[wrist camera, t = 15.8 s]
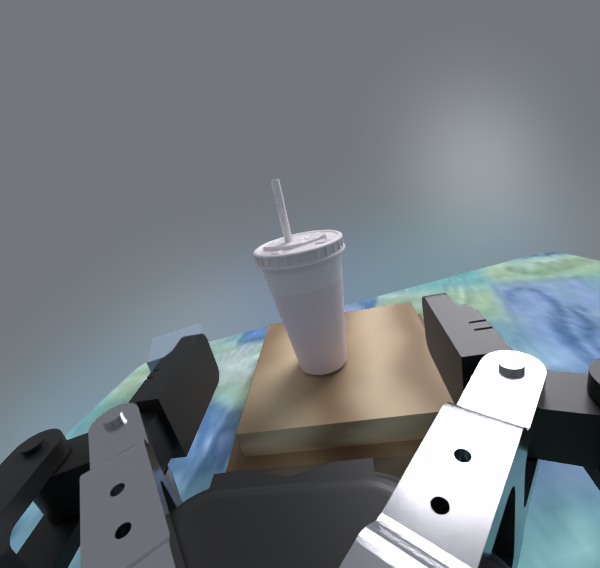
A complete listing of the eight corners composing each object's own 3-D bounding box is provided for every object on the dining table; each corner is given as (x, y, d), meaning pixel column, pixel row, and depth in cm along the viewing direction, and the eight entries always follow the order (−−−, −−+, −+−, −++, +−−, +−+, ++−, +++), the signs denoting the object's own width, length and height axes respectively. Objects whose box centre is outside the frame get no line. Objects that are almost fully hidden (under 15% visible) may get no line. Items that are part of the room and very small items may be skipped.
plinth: (421, 331, 35) (418, 296, 33) (492, 471, 20) (492, 419, 19) (270, 353, 37) (261, 321, 36) (234, 493, 22) (216, 449, 21)
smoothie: (282, 349, 30) (240, 186, 25) (354, 333, 30) (324, 167, 25) (284, 395, 24) (228, 191, 19) (374, 374, 24) (339, 166, 19)
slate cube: (214, 361, 38) (200, 322, 36) (217, 386, 34) (201, 344, 32) (169, 376, 37) (152, 338, 36) (166, 405, 33) (146, 362, 31)
